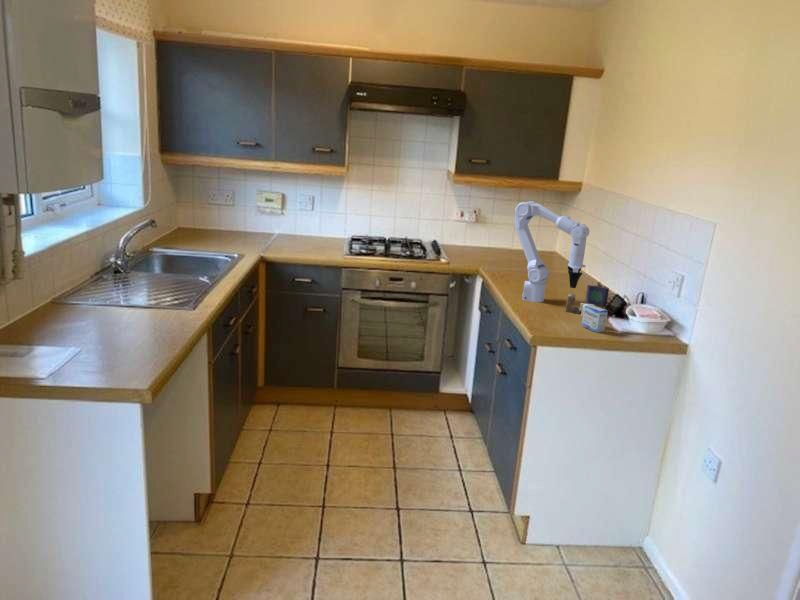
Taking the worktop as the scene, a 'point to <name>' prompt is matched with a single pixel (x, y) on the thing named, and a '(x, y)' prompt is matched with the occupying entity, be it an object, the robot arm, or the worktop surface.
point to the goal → (583, 309)
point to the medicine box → (594, 318)
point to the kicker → (571, 304)
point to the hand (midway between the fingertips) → (572, 285)
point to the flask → (597, 294)
